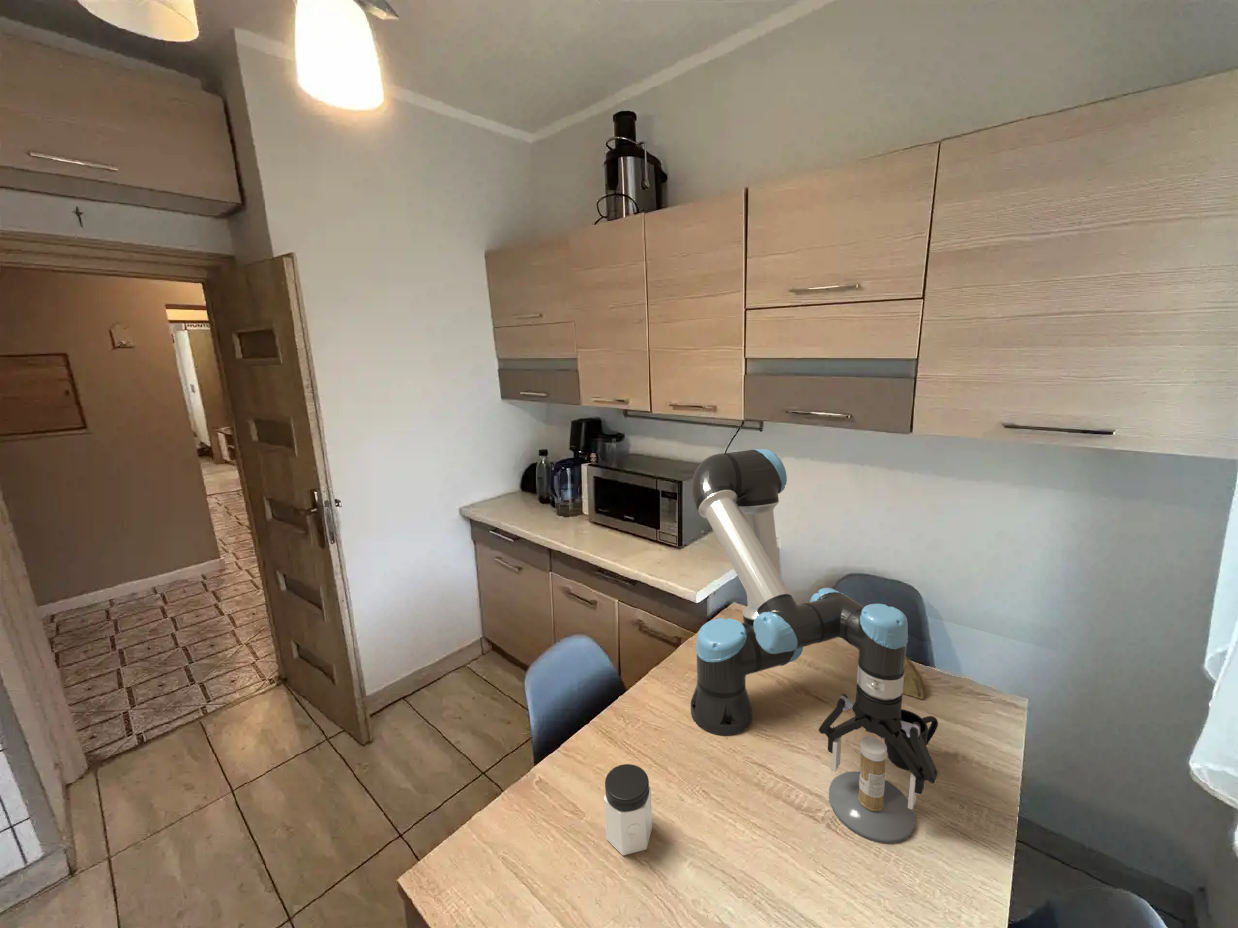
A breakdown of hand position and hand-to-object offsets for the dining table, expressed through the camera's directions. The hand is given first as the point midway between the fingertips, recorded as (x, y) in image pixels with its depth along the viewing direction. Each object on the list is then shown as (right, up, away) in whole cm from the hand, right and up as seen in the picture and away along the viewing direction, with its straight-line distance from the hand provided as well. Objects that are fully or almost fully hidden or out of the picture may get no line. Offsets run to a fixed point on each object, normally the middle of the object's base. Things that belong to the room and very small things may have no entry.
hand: (872, 784), depth 98 cm
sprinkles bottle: (0, -4, +1) cm, 4 cm away
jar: (-47, -8, -2) cm, 48 cm away
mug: (+14, -2, +12) cm, 19 cm away
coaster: (0, -5, +1) cm, 5 cm away
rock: (+24, +3, +34) cm, 42 cm away
